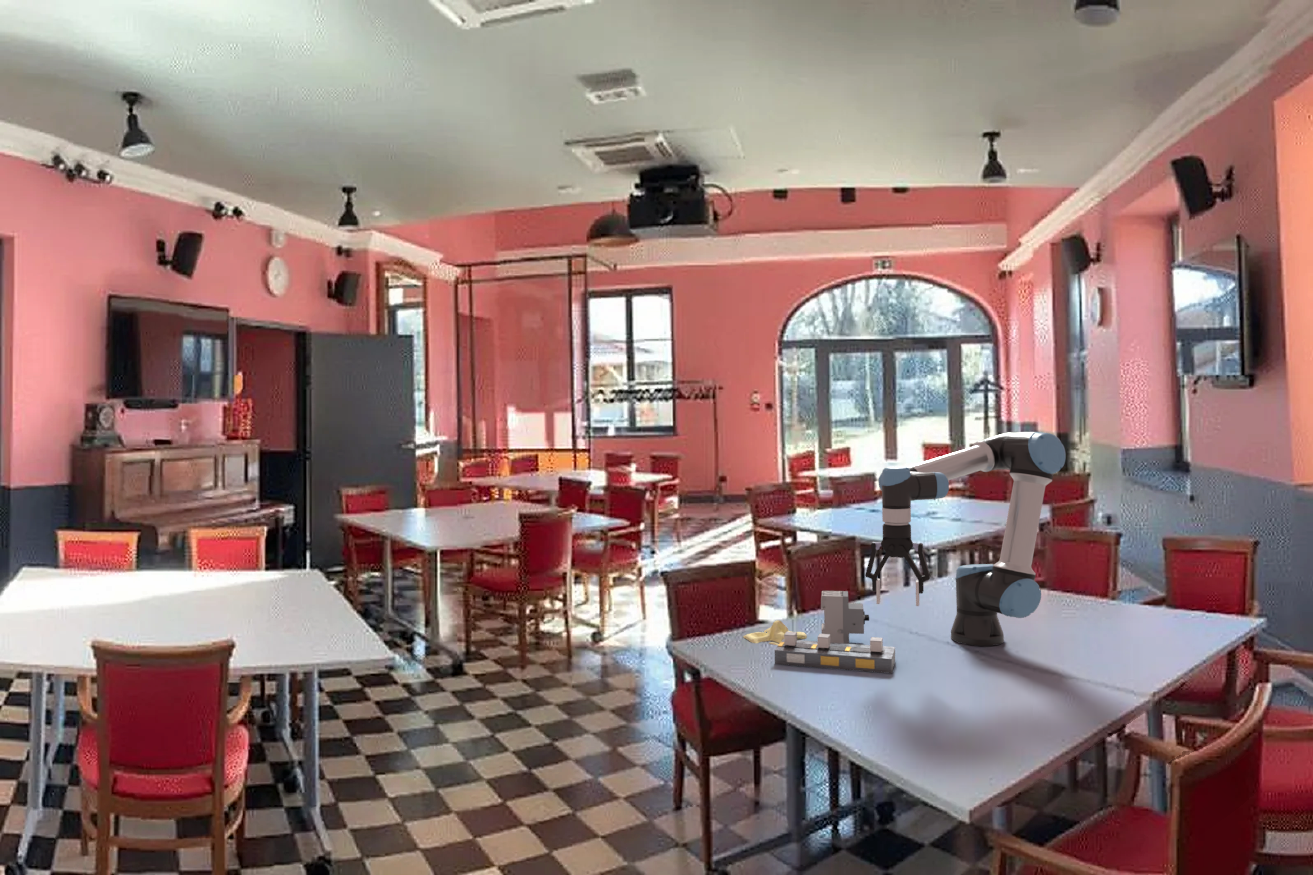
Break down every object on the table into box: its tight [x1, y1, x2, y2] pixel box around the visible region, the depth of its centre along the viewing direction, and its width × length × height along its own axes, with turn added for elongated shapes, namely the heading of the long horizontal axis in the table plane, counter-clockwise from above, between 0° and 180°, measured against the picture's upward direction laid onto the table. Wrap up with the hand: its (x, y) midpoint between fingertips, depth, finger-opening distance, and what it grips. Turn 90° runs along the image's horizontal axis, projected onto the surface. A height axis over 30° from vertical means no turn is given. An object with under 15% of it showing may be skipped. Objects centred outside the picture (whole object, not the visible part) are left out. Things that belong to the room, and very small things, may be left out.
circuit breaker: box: [820, 590, 870, 644], centre depth 259 cm, size 8×14×15 cm, turn 78°
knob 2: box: [817, 633, 830, 648], centre depth 239 cm, size 3×4×3 cm
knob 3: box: [869, 636, 884, 652], centre depth 234 cm, size 3×4×3 cm
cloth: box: [742, 619, 808, 646], centre depth 265 cm, size 22×19×6 cm
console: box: [774, 639, 896, 675], centre depth 238 cm, size 32×12×4 cm, turn 70°
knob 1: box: [784, 630, 798, 646], centre depth 243 cm, size 3×4×3 cm
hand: (897, 604), depth 232 cm, fingers open, 10 cm apart
